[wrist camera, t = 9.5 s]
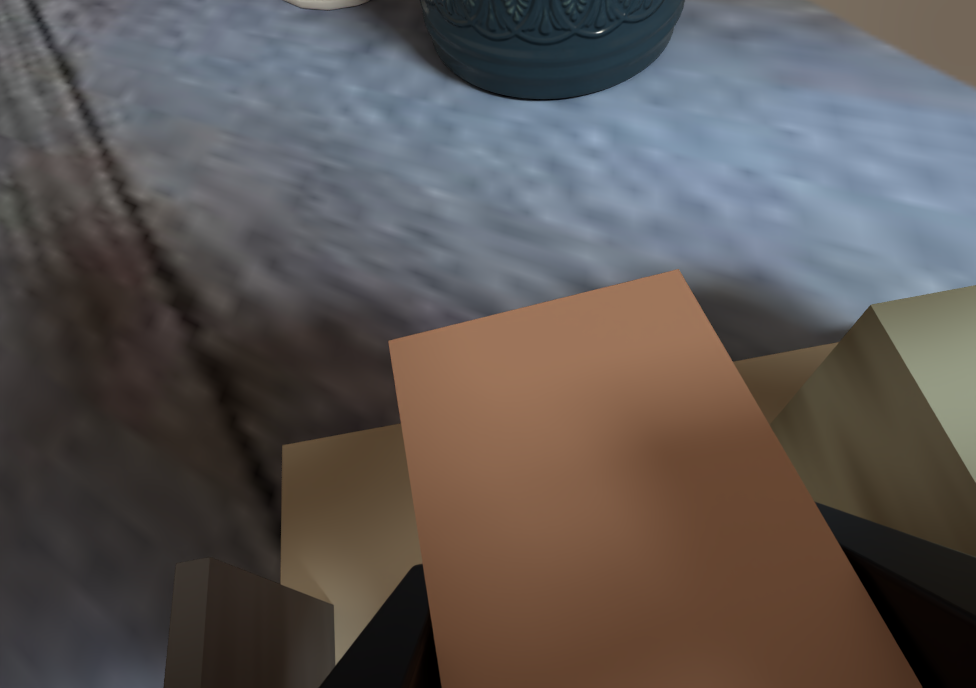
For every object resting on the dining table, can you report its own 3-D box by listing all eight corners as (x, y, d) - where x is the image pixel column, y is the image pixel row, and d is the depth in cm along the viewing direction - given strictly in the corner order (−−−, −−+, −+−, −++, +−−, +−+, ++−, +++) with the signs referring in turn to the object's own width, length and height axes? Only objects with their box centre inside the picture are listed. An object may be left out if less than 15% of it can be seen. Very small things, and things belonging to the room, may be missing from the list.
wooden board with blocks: (1349, 999, 12) (2518, 1452, 5) (285, 1205, 12) (-106, 1978, 5) (934, 342, 20) (1151, 149, 13) (290, 462, 20) (144, 334, 13)
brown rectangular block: (744, 814, 13) (1028, 868, 5) (542, 872, 13) (494, 1026, 5) (628, 510, 17) (678, 268, 9) (475, 550, 17) (388, 340, 9)
